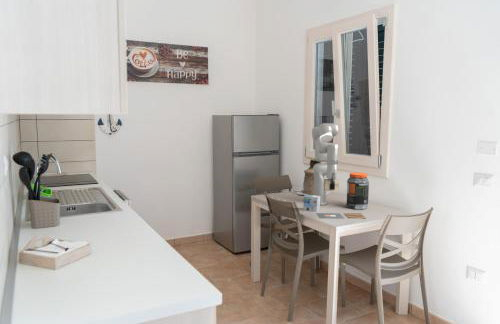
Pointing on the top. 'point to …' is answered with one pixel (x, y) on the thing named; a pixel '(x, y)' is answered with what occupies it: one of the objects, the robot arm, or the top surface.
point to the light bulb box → (311, 203)
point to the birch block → (327, 185)
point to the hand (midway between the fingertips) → (331, 188)
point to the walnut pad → (355, 215)
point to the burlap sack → (309, 180)
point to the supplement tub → (357, 191)
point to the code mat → (330, 215)
